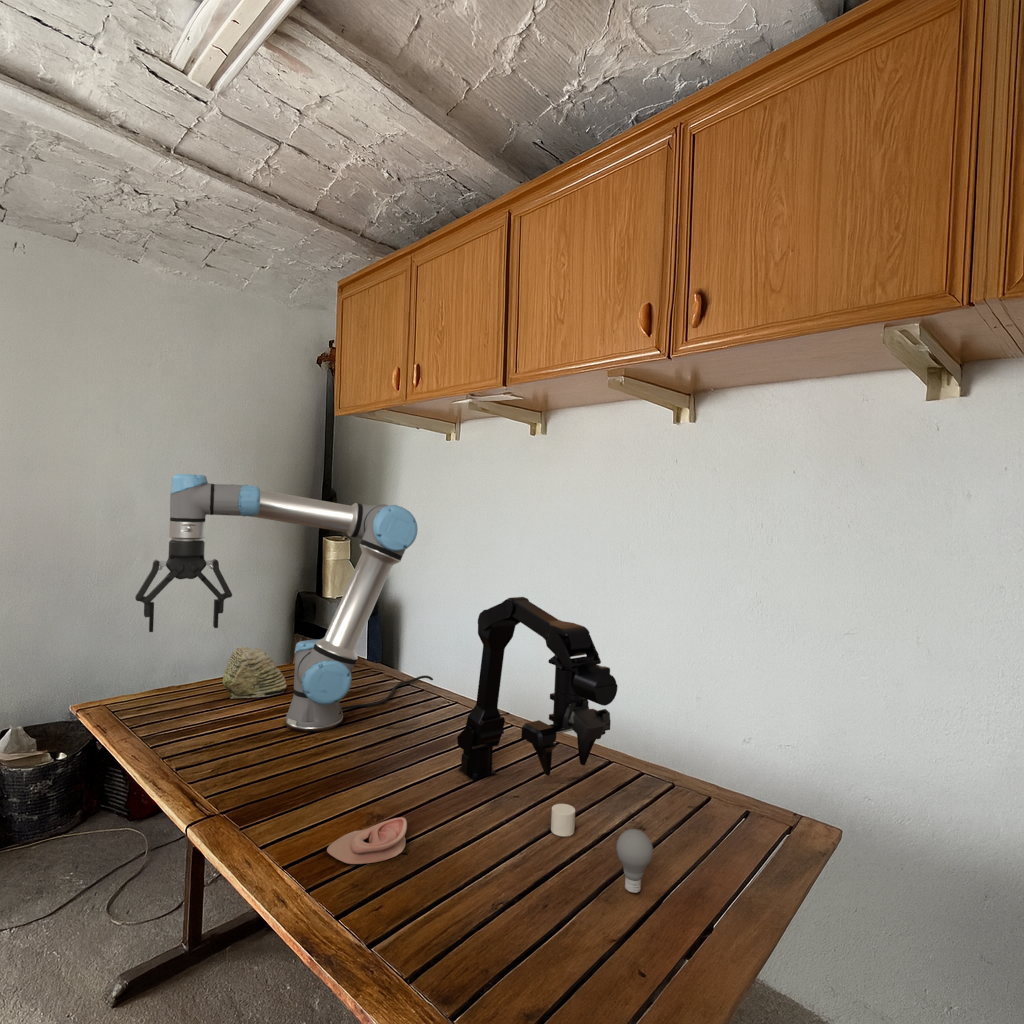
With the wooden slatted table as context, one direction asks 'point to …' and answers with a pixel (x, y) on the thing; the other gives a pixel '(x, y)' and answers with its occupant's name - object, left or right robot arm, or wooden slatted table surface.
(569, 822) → the can
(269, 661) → the fossil
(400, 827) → the anatomical model
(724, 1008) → the wooden slatted table surface
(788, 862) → the wooden slatted table surface
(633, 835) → the light bulb
